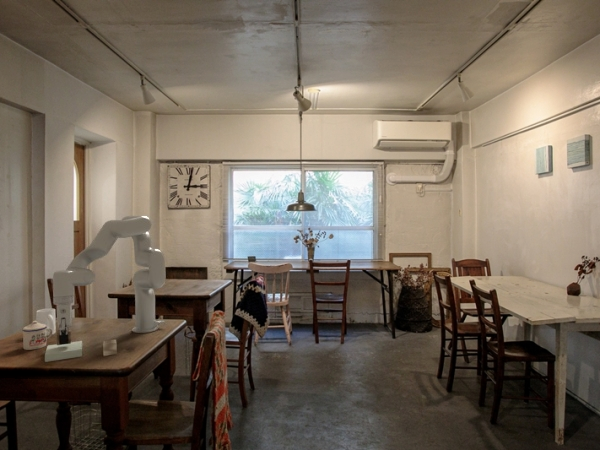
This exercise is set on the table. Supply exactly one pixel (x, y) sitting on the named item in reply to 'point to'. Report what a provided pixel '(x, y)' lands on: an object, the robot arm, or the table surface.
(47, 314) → the mug
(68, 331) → the walnut block
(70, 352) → the base board
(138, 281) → the robot arm
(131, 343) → the table surface
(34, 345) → the teacup with lid
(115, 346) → the ash block
